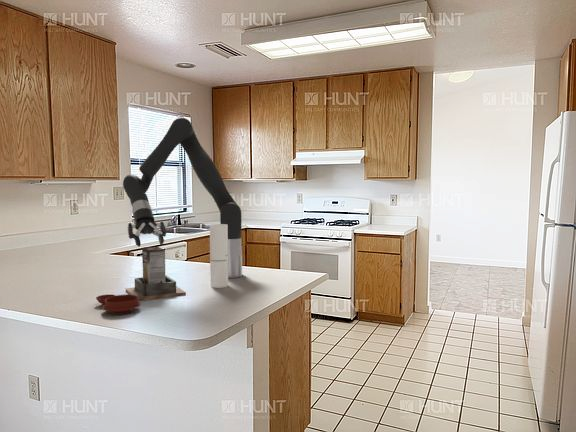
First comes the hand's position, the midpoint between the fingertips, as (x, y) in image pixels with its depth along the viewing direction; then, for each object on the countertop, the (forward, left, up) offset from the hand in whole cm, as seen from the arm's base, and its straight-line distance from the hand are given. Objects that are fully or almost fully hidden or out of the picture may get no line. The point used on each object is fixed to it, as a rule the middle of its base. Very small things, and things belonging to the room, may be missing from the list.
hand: (150, 244), depth 168 cm
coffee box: (-2, +4, -17) cm, 18 cm away
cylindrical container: (-26, -6, -18) cm, 32 cm away
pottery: (+5, +26, -18) cm, 32 cm away
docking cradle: (-3, +5, -18) cm, 19 cm away
